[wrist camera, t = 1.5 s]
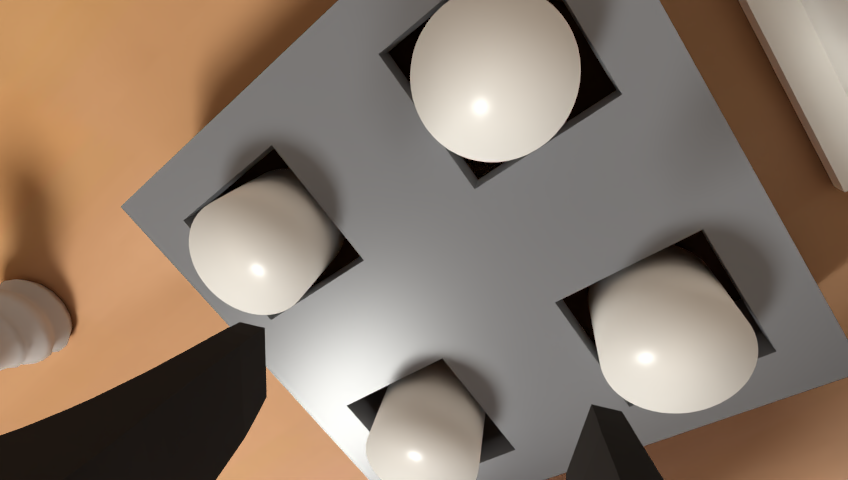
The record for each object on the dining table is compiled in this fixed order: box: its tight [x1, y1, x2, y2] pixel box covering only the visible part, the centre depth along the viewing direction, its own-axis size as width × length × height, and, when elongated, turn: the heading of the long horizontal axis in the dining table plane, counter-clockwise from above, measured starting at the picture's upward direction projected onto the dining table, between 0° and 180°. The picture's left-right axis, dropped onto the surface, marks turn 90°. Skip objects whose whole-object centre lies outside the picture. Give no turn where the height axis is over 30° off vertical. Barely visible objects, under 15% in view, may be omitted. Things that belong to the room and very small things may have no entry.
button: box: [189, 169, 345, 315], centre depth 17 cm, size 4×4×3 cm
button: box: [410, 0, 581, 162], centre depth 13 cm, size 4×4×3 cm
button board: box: [121, 0, 848, 480], centre depth 17 cm, size 17×17×4 cm
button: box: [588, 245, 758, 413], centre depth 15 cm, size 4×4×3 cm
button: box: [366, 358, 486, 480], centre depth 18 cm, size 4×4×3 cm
